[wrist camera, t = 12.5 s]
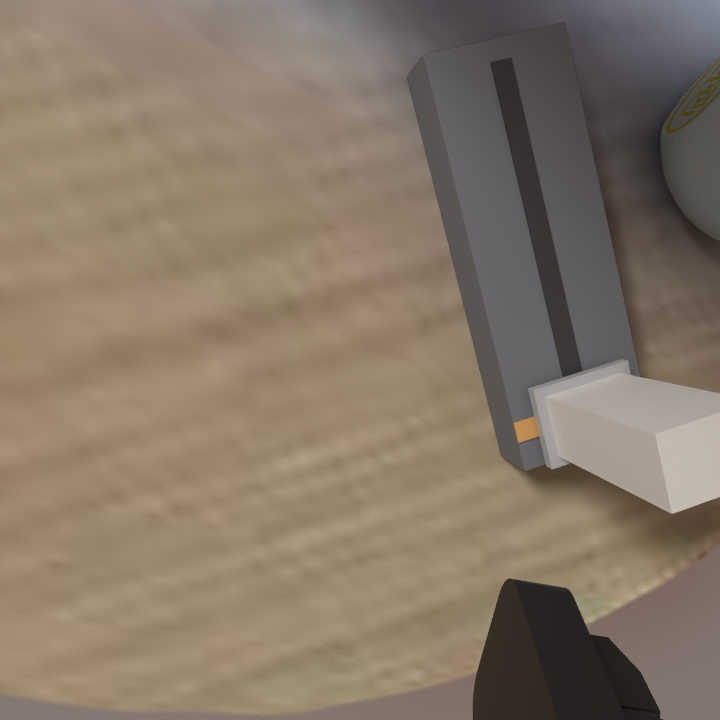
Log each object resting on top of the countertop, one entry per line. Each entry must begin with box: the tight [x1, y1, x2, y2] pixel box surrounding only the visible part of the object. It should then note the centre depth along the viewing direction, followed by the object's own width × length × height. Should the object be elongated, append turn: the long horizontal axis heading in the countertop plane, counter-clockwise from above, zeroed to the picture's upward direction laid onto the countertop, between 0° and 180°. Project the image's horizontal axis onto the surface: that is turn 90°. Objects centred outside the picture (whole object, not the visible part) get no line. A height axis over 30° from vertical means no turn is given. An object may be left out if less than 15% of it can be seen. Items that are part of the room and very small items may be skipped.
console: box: [407, 22, 640, 471], centre depth 33 cm, size 20×7×3 cm, turn 16°
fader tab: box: [528, 359, 720, 514], centre depth 28 cm, size 4×5×9 cm
